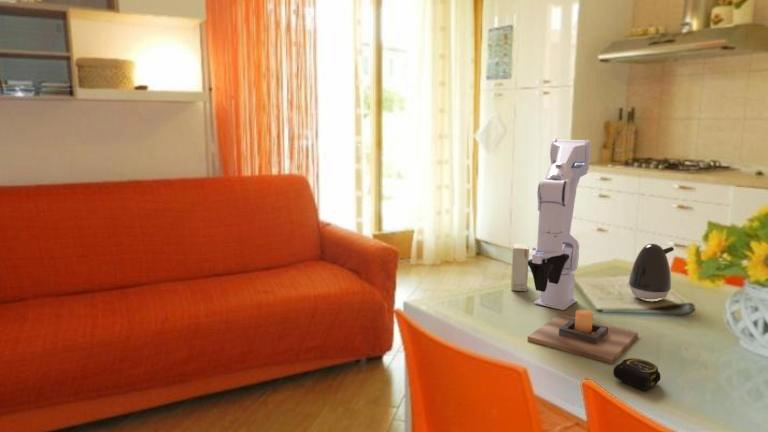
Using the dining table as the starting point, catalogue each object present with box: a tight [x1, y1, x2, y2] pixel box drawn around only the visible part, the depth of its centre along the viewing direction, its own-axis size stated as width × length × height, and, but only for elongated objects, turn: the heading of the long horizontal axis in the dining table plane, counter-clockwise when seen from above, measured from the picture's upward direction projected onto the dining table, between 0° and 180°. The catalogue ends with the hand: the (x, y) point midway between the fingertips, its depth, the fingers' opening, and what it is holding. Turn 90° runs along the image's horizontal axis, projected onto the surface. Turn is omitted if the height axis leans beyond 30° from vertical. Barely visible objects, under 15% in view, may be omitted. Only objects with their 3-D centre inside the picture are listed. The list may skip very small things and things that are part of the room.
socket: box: [526, 313, 639, 365], centre depth 125 cm, size 18×18×2 cm
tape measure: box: [612, 357, 661, 392], centre depth 105 cm, size 7×7×4 cm
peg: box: [574, 309, 594, 334], centre depth 125 cm, size 4×4×5 cm
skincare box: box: [510, 243, 530, 292], centre depth 159 cm, size 6×4×12 cm
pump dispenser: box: [628, 243, 675, 299], centre depth 150 cm, size 10×10×15 cm
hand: (547, 286), depth 134 cm, fingers open, 7 cm apart
